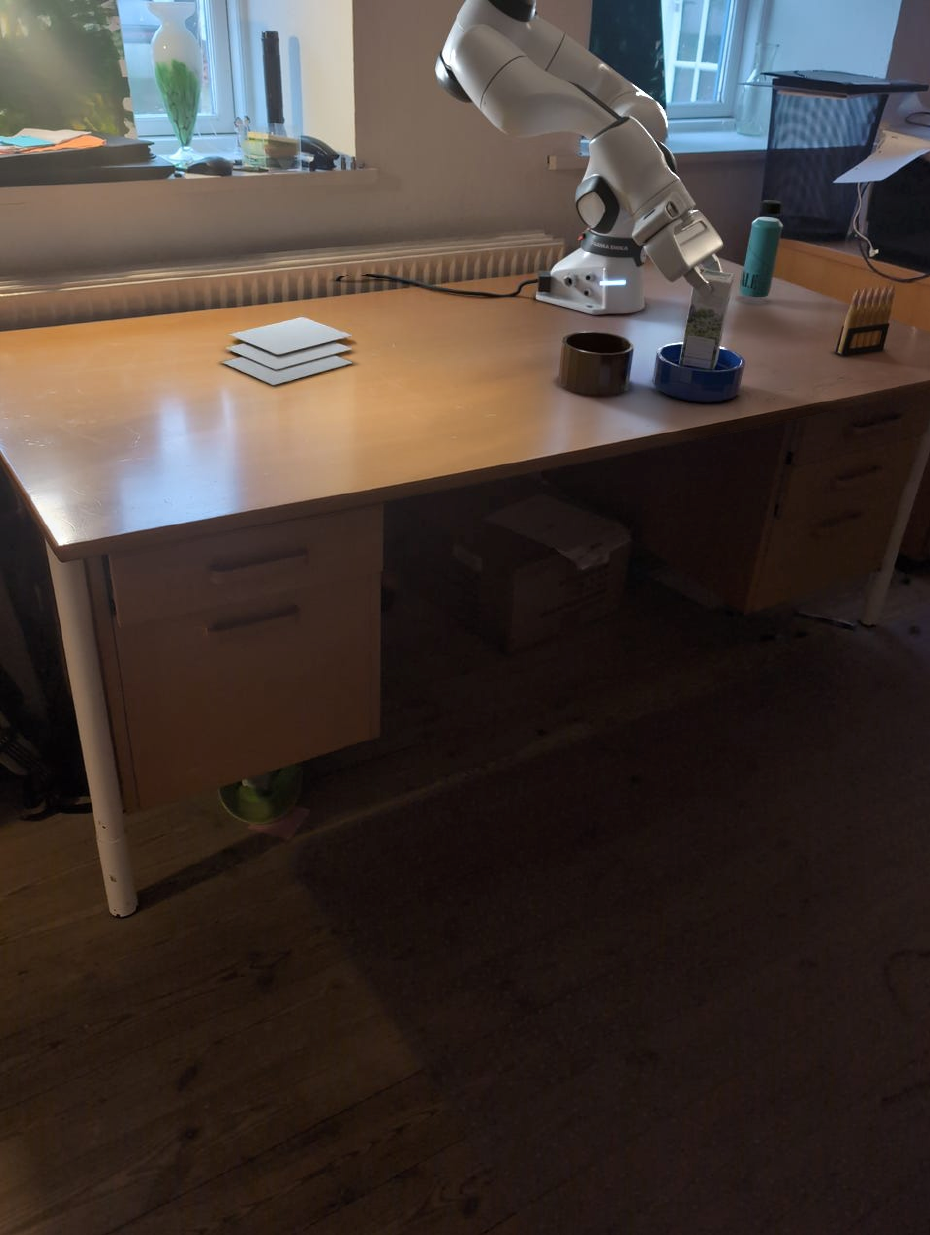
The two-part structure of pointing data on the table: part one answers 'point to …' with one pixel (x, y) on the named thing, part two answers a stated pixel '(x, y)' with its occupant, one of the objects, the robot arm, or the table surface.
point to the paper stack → (288, 350)
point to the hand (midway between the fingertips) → (715, 289)
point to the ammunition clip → (866, 322)
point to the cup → (595, 364)
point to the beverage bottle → (762, 252)
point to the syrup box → (706, 322)
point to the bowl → (698, 376)
